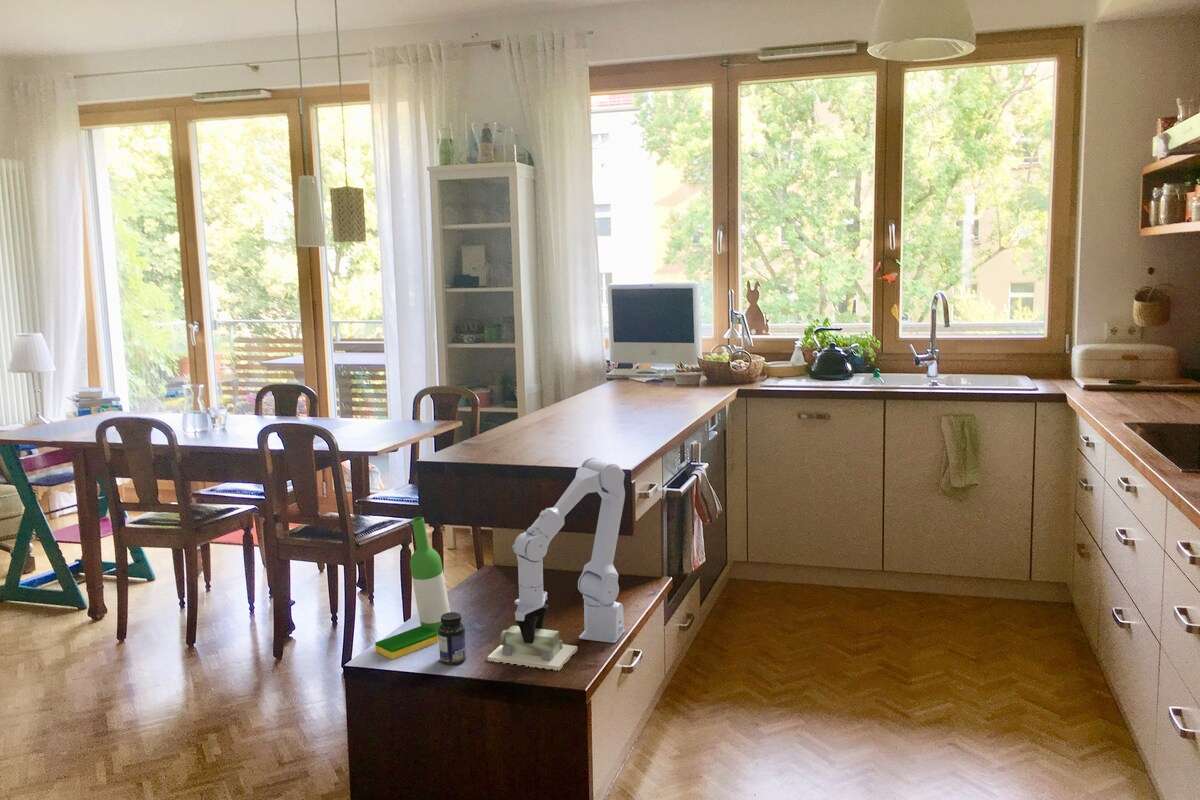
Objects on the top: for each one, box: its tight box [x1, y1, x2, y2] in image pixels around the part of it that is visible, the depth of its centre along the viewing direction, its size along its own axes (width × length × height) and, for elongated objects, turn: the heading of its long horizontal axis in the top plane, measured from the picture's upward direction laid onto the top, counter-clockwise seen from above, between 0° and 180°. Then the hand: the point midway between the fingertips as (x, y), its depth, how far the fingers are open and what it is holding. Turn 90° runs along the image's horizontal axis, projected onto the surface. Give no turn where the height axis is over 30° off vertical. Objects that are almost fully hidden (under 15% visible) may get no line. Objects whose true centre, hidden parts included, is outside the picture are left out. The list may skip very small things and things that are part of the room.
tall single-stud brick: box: [499, 625, 560, 658], centre depth 231 cm, size 14×4×5 cm, turn 71°
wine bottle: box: [409, 516, 451, 635], centre depth 243 cm, size 8×8×30 cm
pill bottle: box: [438, 611, 467, 666], centre depth 229 cm, size 6×6×11 cm
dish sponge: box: [374, 625, 439, 660], centre depth 238 cm, size 7×14×2 cm, turn 137°
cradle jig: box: [486, 639, 578, 672], centre depth 231 cm, size 18×12×3 cm, turn 71°
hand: (532, 638), depth 231 cm, fingers closed on tall single-stud brick, 4 cm apart
